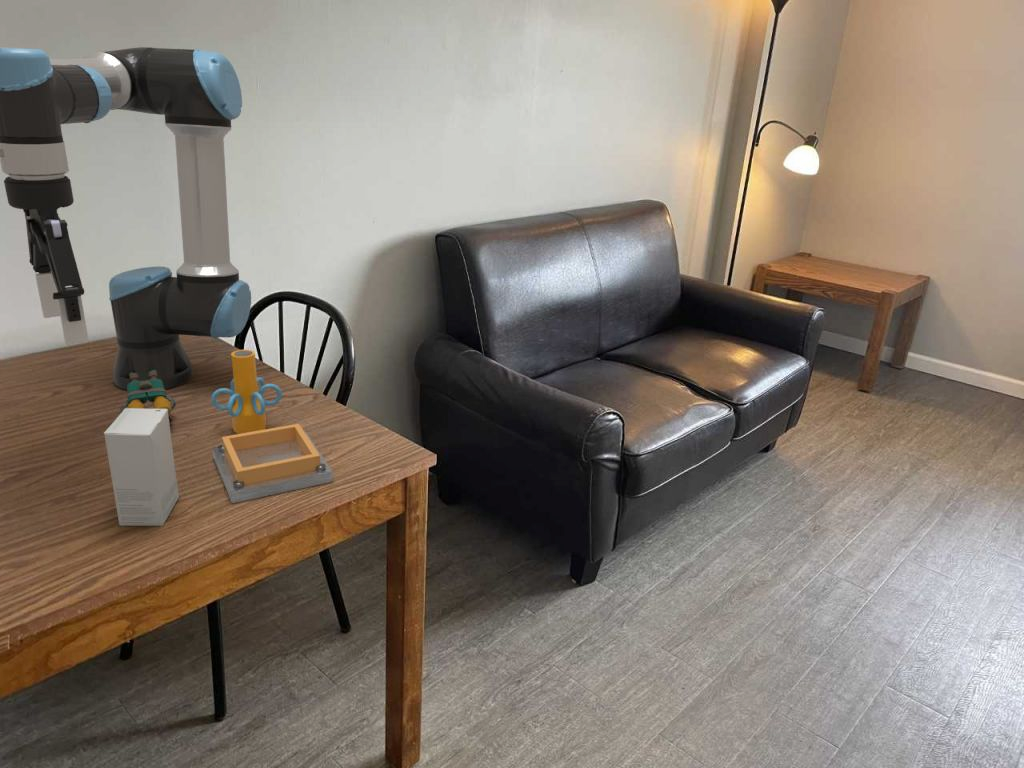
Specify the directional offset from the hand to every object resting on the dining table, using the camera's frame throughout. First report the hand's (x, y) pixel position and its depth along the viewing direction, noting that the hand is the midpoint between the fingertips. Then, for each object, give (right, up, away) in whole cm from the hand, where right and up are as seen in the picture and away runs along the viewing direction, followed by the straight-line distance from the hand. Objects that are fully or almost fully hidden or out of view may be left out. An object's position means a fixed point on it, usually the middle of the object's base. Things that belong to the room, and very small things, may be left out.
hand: (65, 328), depth 107 cm
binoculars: (-3, -16, +32) cm, 36 cm away
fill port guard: (+23, -20, +19) cm, 36 cm away
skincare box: (+9, -27, +6) cm, 30 cm away
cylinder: (+15, -16, +33) cm, 40 cm away
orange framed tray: (+23, -22, +20) cm, 38 cm away
